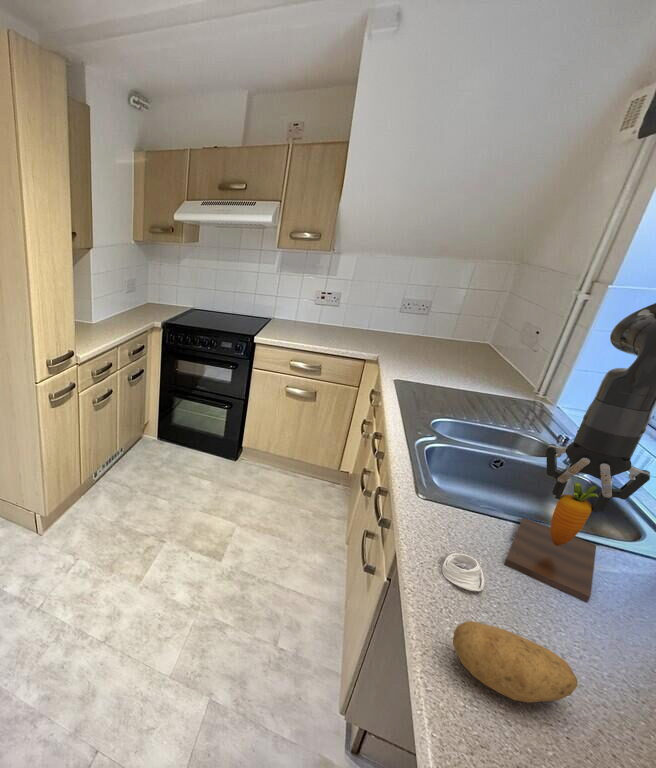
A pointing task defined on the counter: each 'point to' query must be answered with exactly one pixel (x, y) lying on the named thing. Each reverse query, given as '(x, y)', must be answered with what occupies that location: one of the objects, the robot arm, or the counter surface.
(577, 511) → the carrot
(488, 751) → the counter surface
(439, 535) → the counter surface
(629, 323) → the robot arm
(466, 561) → the white string coil
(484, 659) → the potato
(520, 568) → the cutting board
